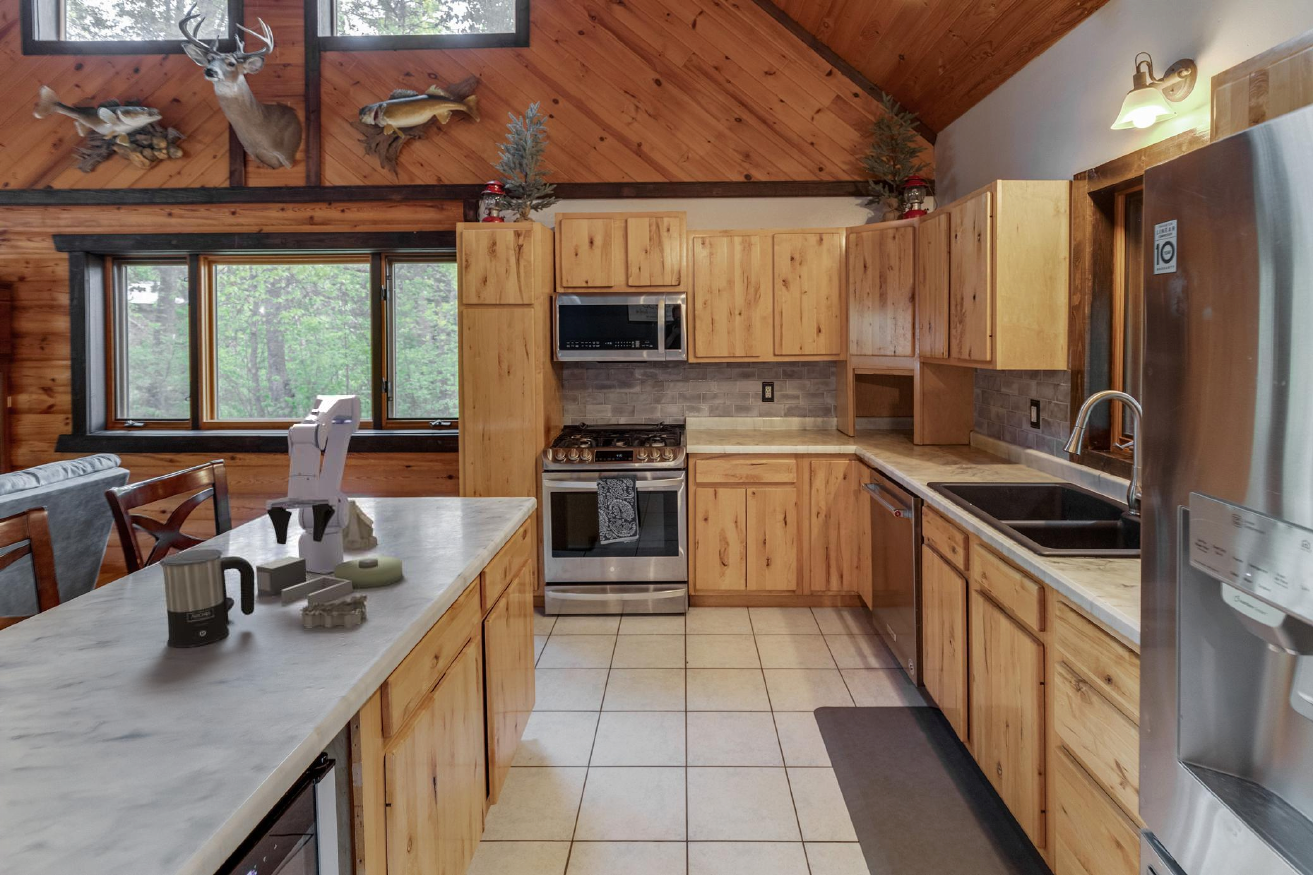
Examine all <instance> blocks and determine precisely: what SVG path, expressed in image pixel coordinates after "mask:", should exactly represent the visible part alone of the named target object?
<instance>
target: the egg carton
mask: <svg viewBox="0 0 1313 875" xmlns="http://www.w3.org/2000/svg"><path fill="white" fill-rule="evenodd" d="M367 600H368V595H362V594H361V595H355V596H351V598H350V599H342V600H341V601H333V600H332V601H328V602H325V603H322V604H320V605H319V603H312V605H311V604H309V605H308V604H307V605H305V606H303V607H302V609H299V611H300V612H302V613H301V618H302V619H301V620H302V626H303V625H306V626H305V627H312V628H314V627H317V626H316V625H318V626H325V628H332V627H334V626H339V625H340V626H344V627H347V628H348V627H350V628H351V627H352V626H355V625H359V624H361V622H362V620H361V619H364V618H366V617H368V614H367V604H365V603H366V602H367Z"/></svg>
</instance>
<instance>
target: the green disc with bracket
mask: <svg viewBox="0 0 1313 875" xmlns="http://www.w3.org/2000/svg"><path fill="white" fill-rule="evenodd" d="M333 574H334V576H333V577H332V576H326V575H322V576H319V577H317V578H314V579H311V580H308V581H307V582H304V583H301V584H298V585H295V586H292V587H289V588H286V589H283V590H281V593H282V594H281V602H282V603H283V604H284V603H285V604H286V603H288V602H291V601H294V600H297V599H300V598H303V597H306V599H307V606H308V605H309V604H311V605H312V603H319V605H321V604H323V603H324V604H325V603H328V602H331V601H333V600H335V599H338V598H340V597H343V596H346V595H348V594H352V593H353V590H356V589H357V590H358V589H371V588H378V587H384V586H387V585H389V584H394V583H395V582H397V581H399V580H401V579H402V578H403V561H402V560H401V559H399V558H397V557H396V558H395V557H390V556H372V557H371V556H370V557H361V558H355V559H350V560H347V561H344V562H343V563H341V564H339V565H337V566H336V567H335V568H334V572H333Z"/></svg>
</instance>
